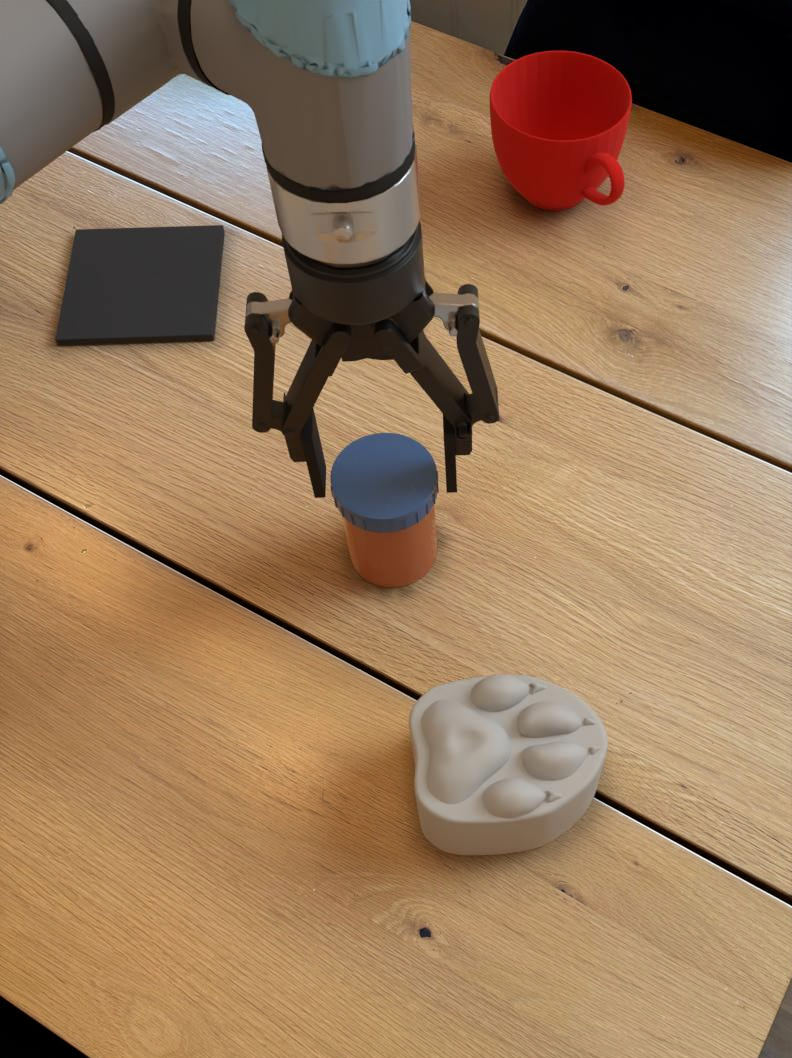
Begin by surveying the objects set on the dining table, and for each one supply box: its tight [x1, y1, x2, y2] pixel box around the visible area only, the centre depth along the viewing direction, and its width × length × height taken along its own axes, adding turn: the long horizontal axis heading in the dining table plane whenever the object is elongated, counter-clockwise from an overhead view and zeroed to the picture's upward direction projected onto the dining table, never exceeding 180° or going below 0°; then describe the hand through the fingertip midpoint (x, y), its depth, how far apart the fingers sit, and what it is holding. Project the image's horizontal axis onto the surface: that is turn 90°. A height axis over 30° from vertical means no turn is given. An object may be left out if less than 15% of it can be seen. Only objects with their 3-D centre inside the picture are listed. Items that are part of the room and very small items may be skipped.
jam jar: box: [341, 504, 438, 588], centre depth 80 cm, size 7×7×10 cm
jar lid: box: [329, 432, 440, 533], centre depth 76 cm, size 8×8×2 cm
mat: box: [54, 224, 226, 347], centre depth 97 cm, size 14×14×1 cm
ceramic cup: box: [489, 50, 633, 211], centre depth 99 cm, size 13×17×10 cm
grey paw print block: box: [408, 673, 609, 856], centre depth 71 cm, size 10×13×9 cm
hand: (386, 479), depth 76 cm, fingers open, 9 cm apart
